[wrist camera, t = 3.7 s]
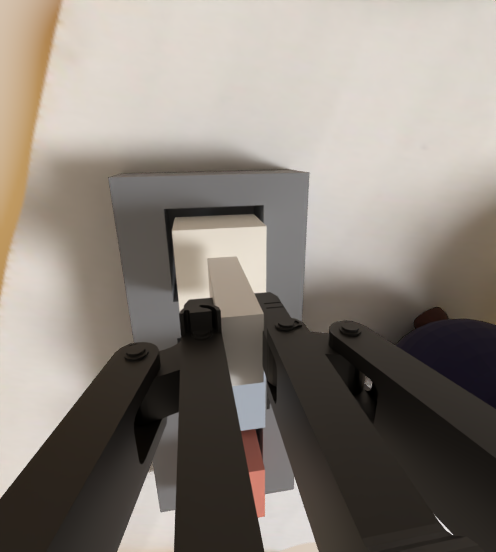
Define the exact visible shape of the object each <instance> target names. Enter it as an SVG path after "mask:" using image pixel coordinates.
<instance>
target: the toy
mask: <svg viewBox="0 0 496 552" xmlns="http://www.w3.org/2000/svg"><path fill="white" fill-rule="evenodd" d="M414 327H415V330H413V331H412V332H410V333H409V334H407V335H406V336H405V337H403V338H402V339H401V340H400V341H399V342H398V343H397V344H396V346H397V347H399V348H400V349H402V350H404V351H405V352H407V353H408V354H410V355H411V356H413V357H415V358H416V359H418V360H419V361H421V362H422V363H424V364H426V365H427V366H429V367H430V368H432V369H433V370H435V371H437V372H438V373H440V374H441V375H443V376H444V377H446V378H448V379H449V380H451V381H452V382H454V383H455V384H457V385H459V386H460V387H462V388H463V389H465V390H466V391H468V392H470V393H471V394H473V395H474V396H476V397H477V398H479V399H481V400H482V401H484V402H485V403H487V404H488V405H490V406H492V407H493V408H495V409H496V325H493V324H490V323H487V322H483V321H477V320H471V319H448V316H447V314H446V313H445V312H444V311H443V310H442V309H441V308H439V307H435V308H432V309H429V310H427V311H425V312H423V313H422V314H421V315H419V316H418V317H417V318H416V319H415V321H414Z"/></svg>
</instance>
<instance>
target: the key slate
mask: <svg viewBox="0 0 496 552" xmlns="http://www.w3.org/2000/svg"><path fill="white" fill-rule="evenodd" d="M232 388H233V393H234V398H235V404H236V409H237V414H238V419H239V424H240V429H241V431H244V430H251V429H258V428H265V392H266V375H265V372H264V382H262V383H254V384H246V385H238V386H232Z"/></svg>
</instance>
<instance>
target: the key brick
mask: <svg viewBox="0 0 496 552" xmlns="http://www.w3.org/2000/svg"><path fill="white" fill-rule="evenodd" d="M241 434H242V440H243V445H244V450H245V455H246V460H247V465H248V471H249V476H250V481H251V486H252V491H253V496H254V501H255V507H256V512H257V517H263V516H265V468H264V464H263V459H262V455H261V451H260V447H259V443H258V438H257V434H256V430H255V429H251V430H244V431H241Z"/></svg>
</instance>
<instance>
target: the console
mask: <svg viewBox="0 0 496 552" xmlns="http://www.w3.org/2000/svg"><path fill="white" fill-rule="evenodd" d="M108 179H109V186H110V192H111V199H112V205H113V211H114V218H115V224H116V231H117V237H118V243H119V250H120V256H121V263H122V269H123V275H124V282H125V288H126V295H127V301H128V307H129V314H130V320H131V327H132V333H133V339H134V343H136V342H148V343H152V344H154V345H156V346H157V347H158V349H159V351H161V350H165V349H167V348H170V347H172V346H174V345H176V344H177V343H179V342H180V341H181V330H180V320H179V313H180V310H179V300H178V290H177V279H176V269H175V258H174V248H173V238H172V228H173V223H174V219H175V217H193V216H216V215H240V214H254V215H255V216H256V217H257V218H258V219H259V220H261V221H262V222H263V223H264V224H265V225H266V226H267V238H266V292H271V293H273V294H274V295H276V296H278V298H279V299H280V301H281V303H282V304H283V305H284V307H285V309H286V310H287V312H288V313H289V315H290V317H291V318H295V319H297V320H300V321H301V322H302V309H303V289H304V269H305V249H306V229H307V209H308V189H309V173H308V172H302V171H296V170H258V171H213V172H169V173H125V174H118V175H115V176H112V177H108ZM266 386H267V378H266ZM178 418H179V412H178V413H175V414H172V415H170V416H167V424H166V427H165V429H164V432H163V435H162V437H161V440H160V442H159V445H158V447H157V450H156V453H155V455H154V458H153V460H152V461H153V467H154V474H155V480H156V487H157V493H158V499H159V506H160V512H165V511H171V510H175V509H176V479H177V448H178ZM255 430H256V434H257V438H258V443H259V447H260V451H261V455H262V459H263V464H264V468H265V494H269V493H275V492H281V491H286V490H292V489H294V474H293V471H292V468H291V465H290V462H289V459H288V455H287V452H286V449H285V446H284V443H283V440H282V437H281V434H280V431H279V428H278V425H277V422H276V419H275V416H274V413H273V410H272V406H271V403H270V409H266V392H265V428H258V429H255Z"/></svg>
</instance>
